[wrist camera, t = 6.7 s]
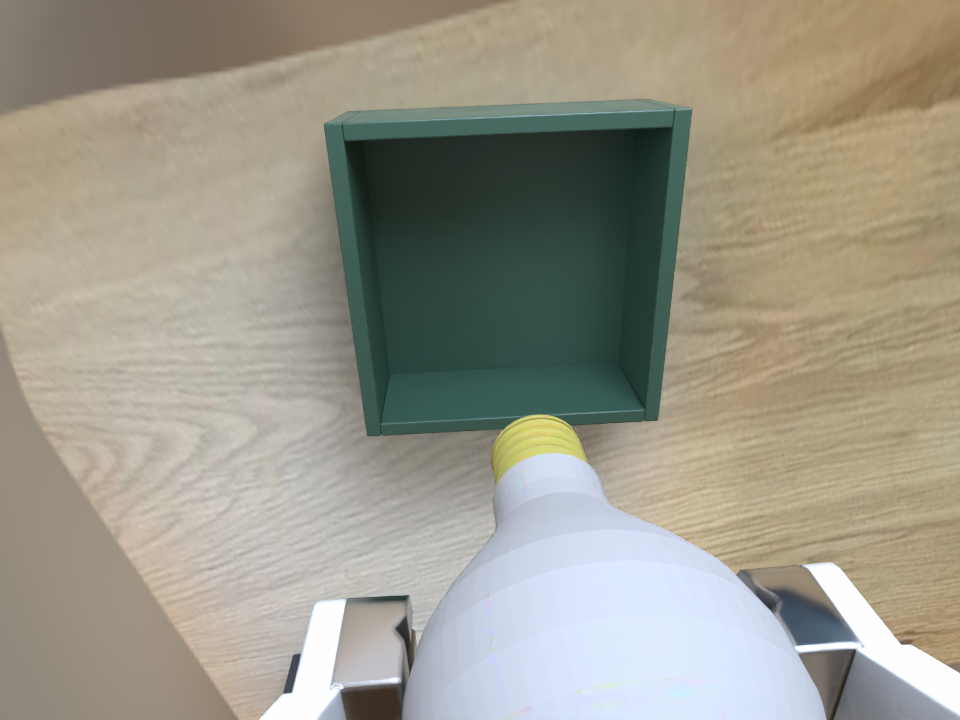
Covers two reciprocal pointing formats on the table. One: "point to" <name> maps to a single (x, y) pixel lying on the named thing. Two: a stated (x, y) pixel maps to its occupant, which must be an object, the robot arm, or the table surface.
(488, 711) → the light bulb
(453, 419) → the green open square box
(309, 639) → the robot arm
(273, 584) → the table surface
